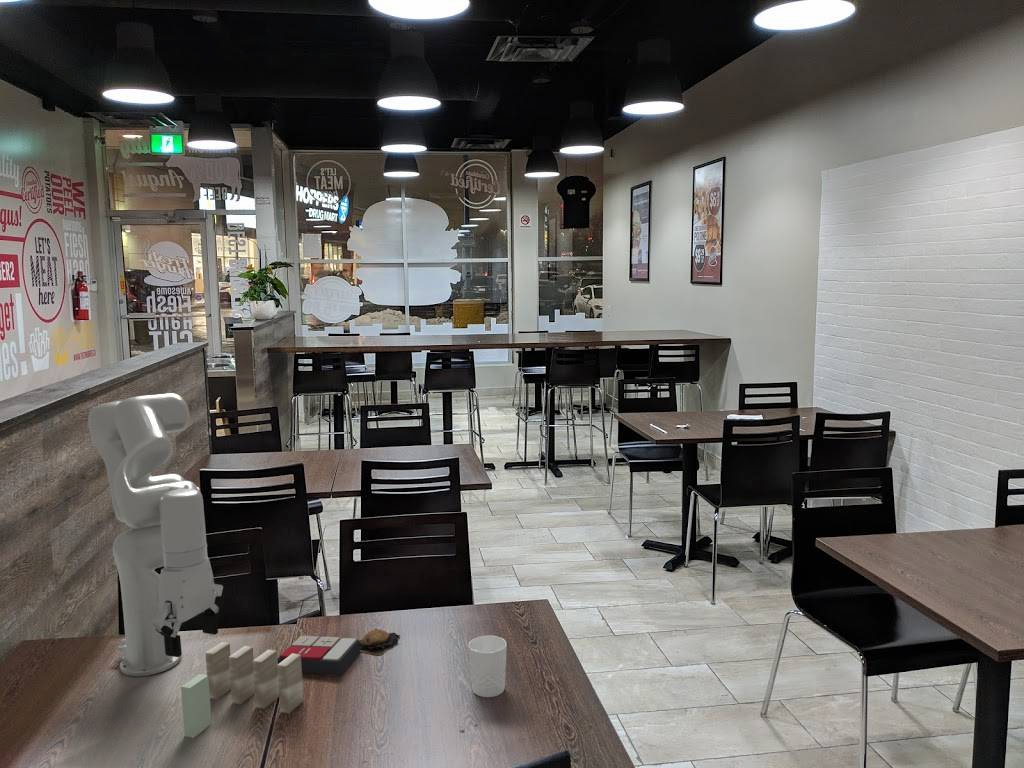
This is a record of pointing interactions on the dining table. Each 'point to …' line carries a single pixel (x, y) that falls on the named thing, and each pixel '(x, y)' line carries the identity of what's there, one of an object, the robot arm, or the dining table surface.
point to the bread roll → (377, 642)
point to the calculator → (324, 654)
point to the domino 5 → (290, 683)
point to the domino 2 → (218, 670)
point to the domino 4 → (266, 679)
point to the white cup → (488, 665)
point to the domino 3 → (242, 674)
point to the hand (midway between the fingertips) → (192, 644)
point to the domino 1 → (196, 705)
